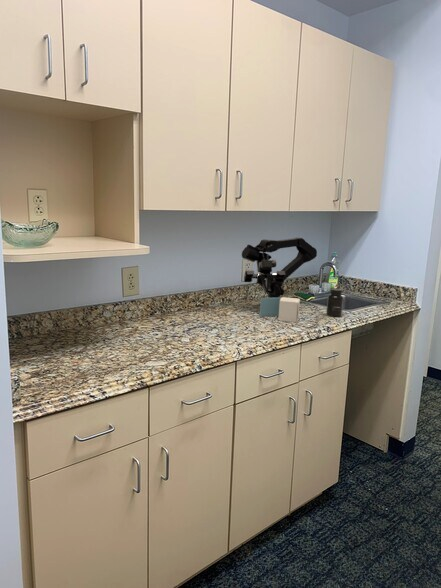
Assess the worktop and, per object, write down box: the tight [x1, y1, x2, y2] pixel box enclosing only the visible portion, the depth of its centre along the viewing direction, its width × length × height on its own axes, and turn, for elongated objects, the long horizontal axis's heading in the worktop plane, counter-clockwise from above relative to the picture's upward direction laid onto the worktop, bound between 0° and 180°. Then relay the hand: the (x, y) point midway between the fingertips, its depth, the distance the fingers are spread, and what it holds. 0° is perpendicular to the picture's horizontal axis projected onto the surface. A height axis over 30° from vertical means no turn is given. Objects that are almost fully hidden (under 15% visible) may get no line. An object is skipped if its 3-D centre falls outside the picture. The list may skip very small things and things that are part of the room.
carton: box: [278, 297, 301, 323], centre depth 196 cm, size 9×8×8 cm
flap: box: [259, 296, 281, 317], centre depth 200 cm, size 9×2×8 cm, turn 107°
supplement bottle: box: [325, 288, 344, 318], centre depth 207 cm, size 7×7×12 cm
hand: (266, 291), depth 204 cm, fingers closed
